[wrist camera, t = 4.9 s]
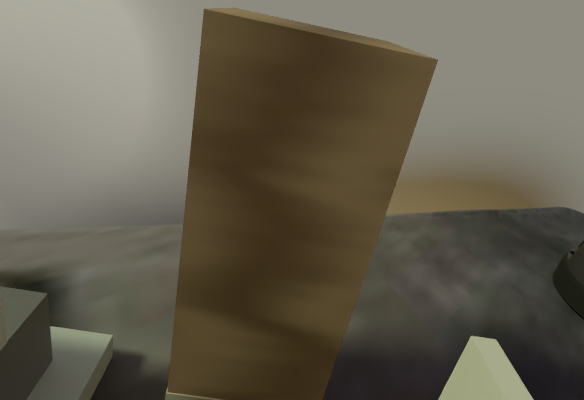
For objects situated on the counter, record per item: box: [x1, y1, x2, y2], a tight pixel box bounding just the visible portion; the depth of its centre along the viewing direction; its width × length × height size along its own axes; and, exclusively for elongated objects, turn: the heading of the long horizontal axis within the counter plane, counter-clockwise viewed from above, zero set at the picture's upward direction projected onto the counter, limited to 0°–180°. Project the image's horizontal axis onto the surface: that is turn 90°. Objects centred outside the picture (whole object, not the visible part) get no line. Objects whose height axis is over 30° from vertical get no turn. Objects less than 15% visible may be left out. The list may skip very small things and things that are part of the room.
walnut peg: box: [165, 8, 438, 400], centre depth 17 cm, size 6×6×18 cm
